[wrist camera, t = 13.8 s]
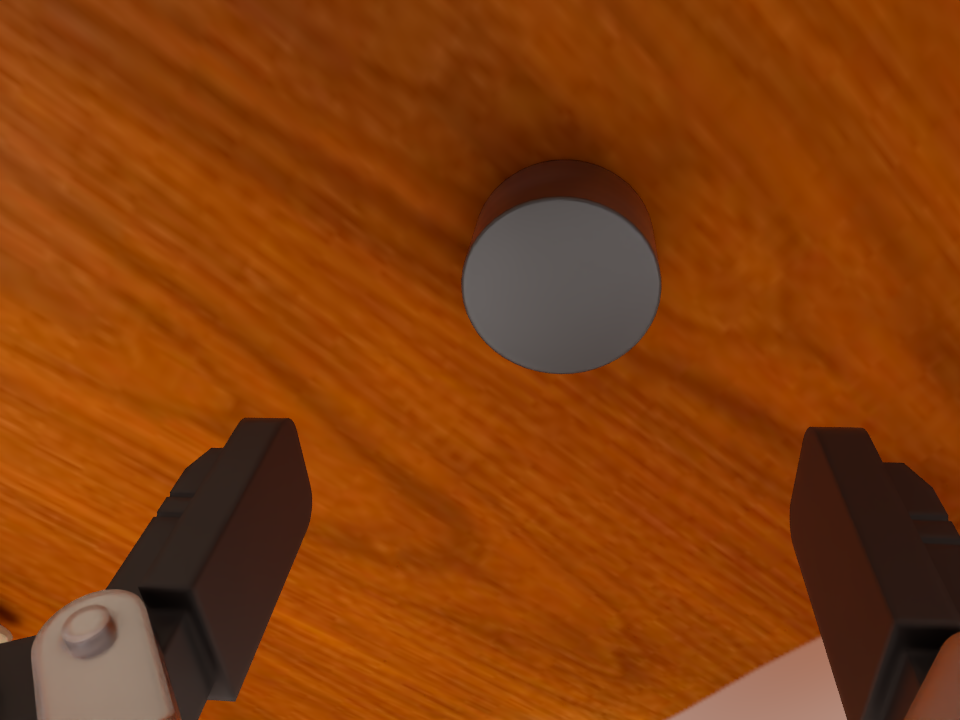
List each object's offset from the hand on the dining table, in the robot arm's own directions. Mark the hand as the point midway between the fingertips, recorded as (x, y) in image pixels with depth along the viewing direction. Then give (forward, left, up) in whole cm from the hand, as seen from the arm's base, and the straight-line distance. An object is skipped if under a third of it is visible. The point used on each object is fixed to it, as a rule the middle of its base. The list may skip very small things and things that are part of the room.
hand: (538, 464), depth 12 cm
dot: (0, 0, -9) cm, 9 cm away
